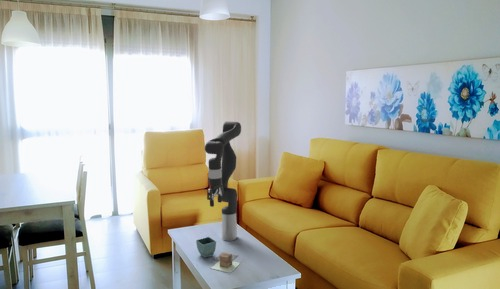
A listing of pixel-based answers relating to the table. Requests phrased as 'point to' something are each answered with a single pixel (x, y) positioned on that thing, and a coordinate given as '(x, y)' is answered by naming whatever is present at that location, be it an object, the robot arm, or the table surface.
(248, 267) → the table surface
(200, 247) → the flower pot
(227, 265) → the walnut block
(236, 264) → the coaster
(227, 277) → the table surface
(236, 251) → the table surface
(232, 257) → the tile
